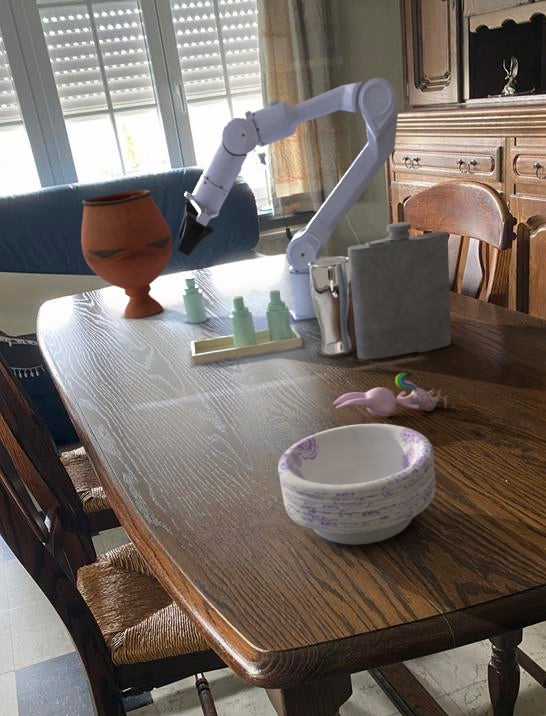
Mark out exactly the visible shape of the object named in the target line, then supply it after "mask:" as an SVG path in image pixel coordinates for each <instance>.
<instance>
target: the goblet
mask: <svg viewBox="0 0 546 716" xmlns="http://www.w3.org/2000/svg"><path fill="white" fill-rule="evenodd" d="M81 203H82V205H83V211H82V212H83V213H82V222H81V236H80V239H81V240H80V242H81V243H80V244H81V250H82V254H83V258H84V261H85V262H86V264H87V266H88V267H89V268H90V269H91V270H92V271H93V273H95V274H96V275H97V276H98V277H99V278H100V279H102V280H103V281H105V282H106V283H109V284H111V285H112V286H115V287H117V288H119V289H123V290H124V294H125V295H126V296H128V297H129V300H128V303H127V304H126V307H125V309H124V312H123V316H124V318H127V319H139V318H140V319H142V318H147V317H150V316H154V315H157V314H159V313H160V312H162V311H164V307H163V306H162V305H161V303H160V302H159V301H158V300H156V299H155V298H154V297H152V296H151V295H150V292H151V290H152V288H151V284H152V283H153V282H154V281H156V280H157V279H158V277H160V276H161V274H162V273H163V272H164V270H165V269H166V267H167V265H168V264H169V261H170V259H171V256H172V252H173V238H172V233H171V230H170V227H169V226H168V223H167V221H166V219H165V217H164V216H163V214H162V212H161V211H160V209H159V207H158V206H157V204H156V202H155V201H154V199H153V198H152V193H151V191H150V190H148V189H135V190H131V191H125V192H117V193H113V194H105V195H103V196H102V195H101V196H97V197H93V198H88V199H83V200H82V202H81Z"/></svg>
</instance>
